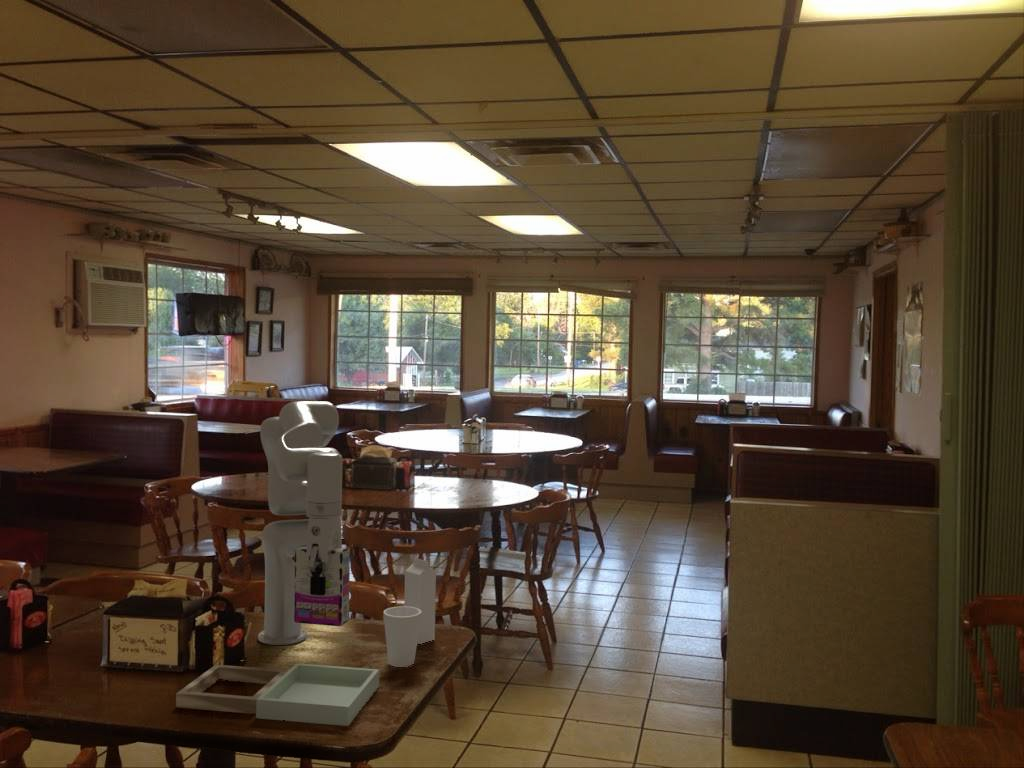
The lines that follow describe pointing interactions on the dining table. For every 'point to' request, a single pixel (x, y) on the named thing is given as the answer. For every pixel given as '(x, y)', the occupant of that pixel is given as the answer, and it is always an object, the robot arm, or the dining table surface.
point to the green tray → (318, 694)
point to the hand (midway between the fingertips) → (322, 590)
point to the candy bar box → (336, 597)
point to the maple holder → (221, 702)
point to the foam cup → (401, 634)
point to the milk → (422, 596)
